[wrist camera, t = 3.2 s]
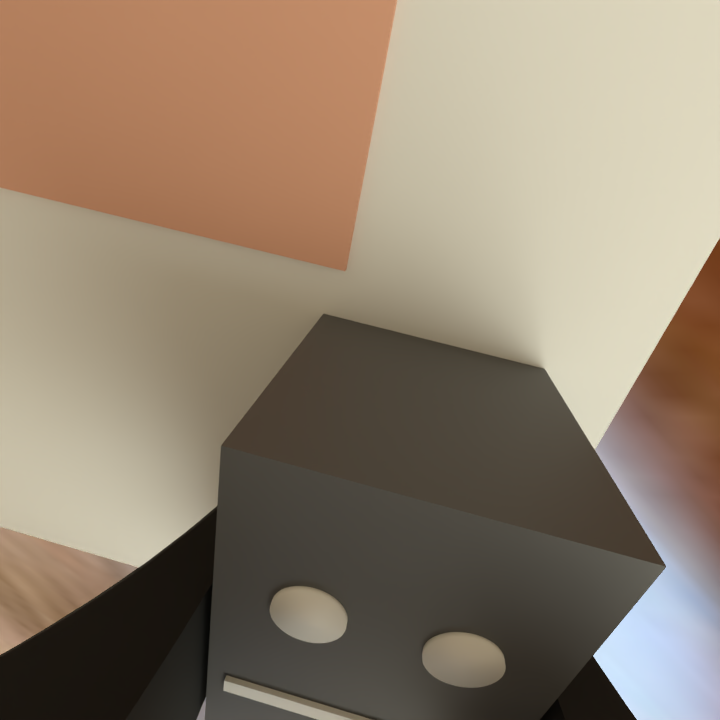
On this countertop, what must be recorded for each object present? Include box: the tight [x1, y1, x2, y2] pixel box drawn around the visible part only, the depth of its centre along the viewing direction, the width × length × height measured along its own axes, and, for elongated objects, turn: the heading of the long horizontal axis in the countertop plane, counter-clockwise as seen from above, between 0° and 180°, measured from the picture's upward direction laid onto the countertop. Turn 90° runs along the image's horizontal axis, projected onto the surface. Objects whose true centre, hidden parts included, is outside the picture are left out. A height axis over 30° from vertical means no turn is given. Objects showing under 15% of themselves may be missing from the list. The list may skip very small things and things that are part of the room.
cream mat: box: [0, 0, 720, 567], centre depth 8 cm, size 21×17×1 cm
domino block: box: [205, 314, 666, 720], centre depth 8 cm, size 9×5×5 cm, turn 168°
